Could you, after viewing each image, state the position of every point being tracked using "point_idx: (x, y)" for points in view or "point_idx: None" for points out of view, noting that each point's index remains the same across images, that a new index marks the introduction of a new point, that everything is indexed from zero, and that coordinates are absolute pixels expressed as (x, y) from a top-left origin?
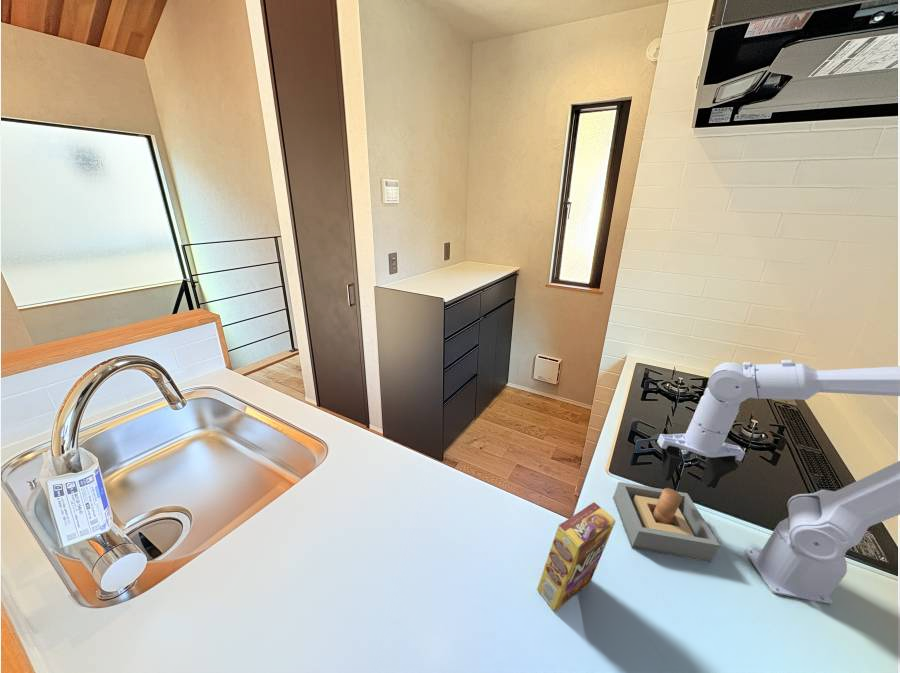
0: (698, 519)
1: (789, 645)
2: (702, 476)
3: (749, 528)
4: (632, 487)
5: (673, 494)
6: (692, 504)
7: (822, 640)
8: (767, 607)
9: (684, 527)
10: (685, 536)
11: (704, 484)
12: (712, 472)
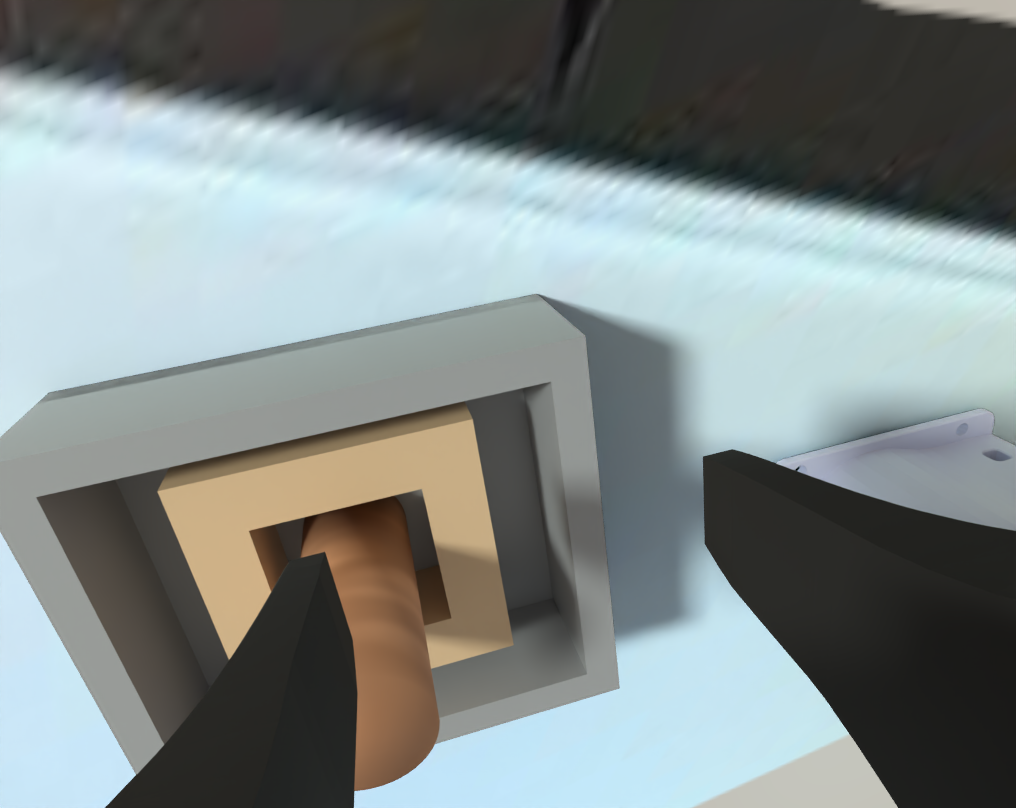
0: (572, 563)
1: (704, 767)
2: (725, 482)
3: (894, 279)
4: (109, 478)
5: (374, 729)
6: (581, 447)
7: (819, 704)
8: (710, 681)
9: (472, 614)
10: (445, 725)
11: (704, 519)
12: (824, 646)
